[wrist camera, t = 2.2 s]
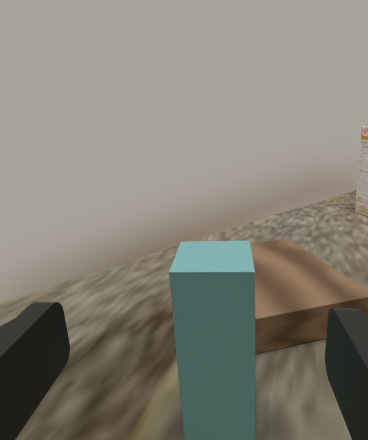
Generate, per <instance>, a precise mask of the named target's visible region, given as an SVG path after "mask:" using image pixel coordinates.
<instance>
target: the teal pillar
mask: <svg viewBox="0 0 368 440" xmlns="http://www.w3.org/2000/svg"><path fill="white" fill-rule="evenodd" d="M169 276H170V287H171V298H172V309H173V320H174V331H175V342H176V353H177V364H178V375H179V386H180V397H181V408H182V419H183V430H184V440H256V387H255V269H254V263H253V258H252V252H251V246H250V241H199V242H181V244H180V246H179V248H178V251H177V253H176V256H175V259H174V261H173V264H172V266H171V269H170V271H169Z"/></svg>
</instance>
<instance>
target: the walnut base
mask: <svg viewBox="0 0 368 440" xmlns="http://www.w3.org/2000/svg"><path fill="white" fill-rule="evenodd" d="M250 246H251V252H252V258H253V263H254V269H255V354H257V353H262V352H267V351H271V350H276V349H280V348H285V347H290V346H294V345H299V344H303V343H308V342H313V341H317V340H322V339H326V337H327V323H328V313H329V310H330V309H331V308H350V309H361V310H362V311H363V312H364V313H365V315H366V316H367V318H368V290H367V289H365V288H364V287H362V286H360V285H359V284H357V283H356V282H354V281H353V280H351V279H349V278H348V277H346V276H345V275H343V274H341V273H340V272H338V271H337V270H335V269H334V268H332V267H330V266H329V265H327V264H326V263H324V262H323V261H321V260H319V259H318V258H316V257H315V256H313V255H311V254H310V253H308V252H307V251H305V250H304V249H302V248H300V247H299V246H297V245H296V244H294V243H293V242H291V241H289V240H288V239H282V240H275V241H269V242H262V243H255V244H250ZM175 256H176V255H175ZM175 256H174V259H175Z"/></svg>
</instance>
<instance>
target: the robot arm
mask: <svg viewBox="0 0 368 440" xmlns="http://www.w3.org/2000/svg"><path fill="white" fill-rule="evenodd" d="M69 352H70V344H69V338H68V333H67V327H66V322H65V317H64V311H63V308H62V305H61V304H60V303H58V302H34V303H32V304H31V305H30V306H28V307H27V308H26V309H25V310H24V311H23V312H22V313H21V314H20V315H19V316H17V317H16V318H15V319H13V320H11V321H9V322H7V323H6V324H4V325H2V326H0V440H15V439H16V437H17V436H18V434H19V433H20V432H21V430H22V429H23V427H24V426H25V424H26V423H27V421H28V420H29V418H30V417H31V415H32V414H33V412H34V411H35V409H36V408H37V407H38V405H39V404H40V402H41V401H42V399H43V398H44V396H45V395H46V393H47V392H48V390H49V389H50V387H51V386H52V384H53V383H54V382H55V380H56V379H57V377H58V376H59V374H60V373H61V371H62V370H63V368H64V367H65V365H66V363H67V361H68V357H69ZM325 364H326V371H327V376H328V379H329V382H330V384H331V387H332V389H333V392H334V395H335V397H336V400H337V402H338V405H339V407H340V410H341V412H342V415H343V418H344V420H345V423H346V425H347V428H348V430H349V433H350V435H351V438H352V440H368V318H367V316H366V315H365V313H364V312H363V311H362V310H361V309H350V308H331V309H330V310H329V313H328V323H327V337H326V350H325Z"/></svg>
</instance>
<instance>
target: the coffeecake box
mask: <svg viewBox="0 0 368 440" xmlns="http://www.w3.org/2000/svg"><path fill="white" fill-rule="evenodd" d="M355 212H357V213H359V214H362V215H365V216H367V217H368V125H363V126H362V136H361V149H360V160H359V172H358V184H357V196H356V208H355Z"/></svg>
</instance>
